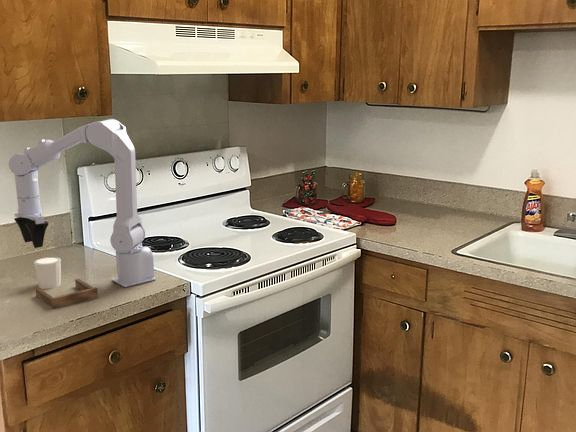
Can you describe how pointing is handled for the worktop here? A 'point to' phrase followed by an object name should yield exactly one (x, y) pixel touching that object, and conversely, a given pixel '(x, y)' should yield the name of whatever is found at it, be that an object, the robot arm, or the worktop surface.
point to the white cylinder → (48, 272)
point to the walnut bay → (69, 295)
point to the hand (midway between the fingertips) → (33, 244)
